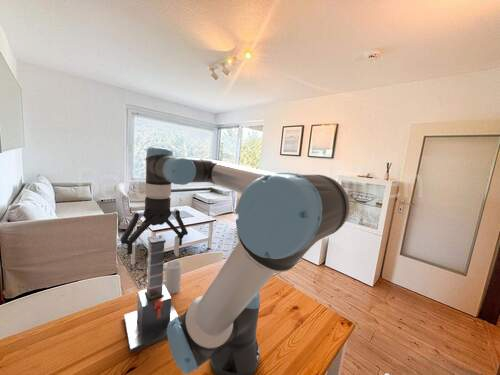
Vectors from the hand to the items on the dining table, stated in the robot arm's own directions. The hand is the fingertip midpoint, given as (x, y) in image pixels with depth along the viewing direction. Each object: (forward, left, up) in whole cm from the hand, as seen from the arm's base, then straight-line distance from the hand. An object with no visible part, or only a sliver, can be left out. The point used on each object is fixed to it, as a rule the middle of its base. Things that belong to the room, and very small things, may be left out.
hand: (155, 258), depth 70 cm
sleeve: (0, 0, -25) cm, 25 cm away
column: (0, 0, -15) cm, 15 cm away
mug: (+17, -10, -25) cm, 32 cm away
